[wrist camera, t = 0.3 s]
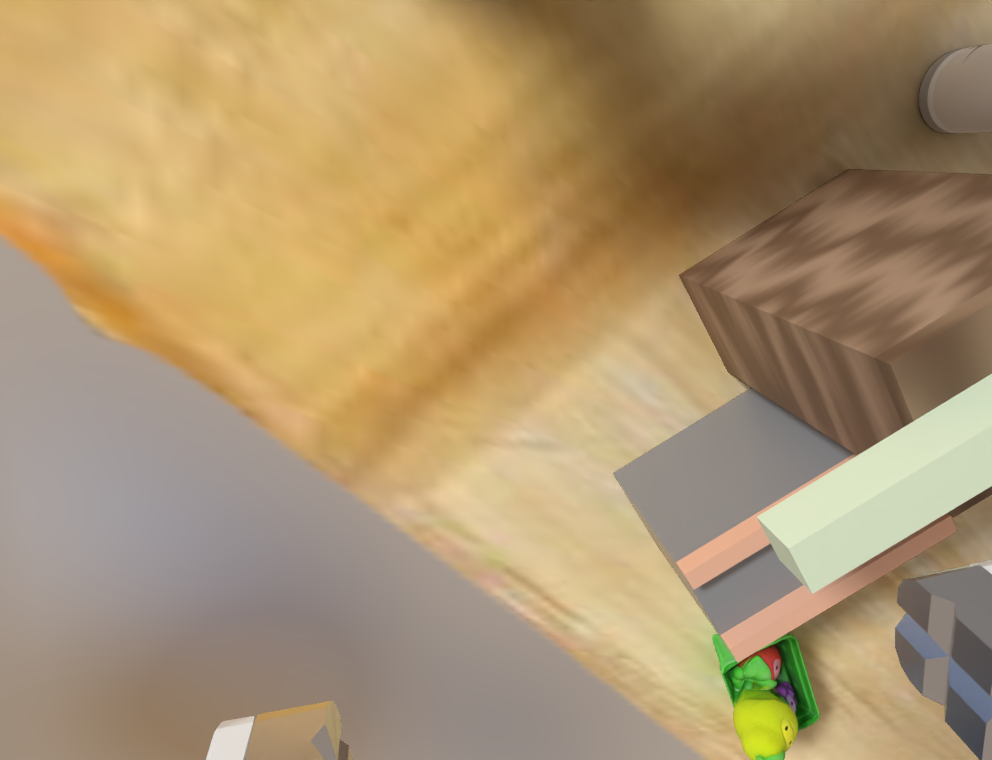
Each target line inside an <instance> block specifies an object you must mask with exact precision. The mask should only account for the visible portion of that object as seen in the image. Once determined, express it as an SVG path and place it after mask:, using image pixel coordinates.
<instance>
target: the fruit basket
mask: <svg viewBox="0 0 992 760" xmlns="http://www.w3.org/2000/svg"><path fill="white" fill-rule="evenodd" d="M713 642H714V646H715V649H716V652H717V655H718V658H719V662H720V670H721V673H722V676H723V679H724V681H725V684H726V687H727V689H728V692H729V695H730V698H731V701H732V703H733V706H734V713H733V721H734V726H735V729H736V732H737V734H738V736H739V738H740V739H741V743H742V746H743V749H744V752H745V753H746V755H747V756H748V757H749V758H750V759H751V760H784V758H785V752H786V751H787V750H788V749H789V748H790V747H791V745H792V744H793V742H794V741H795V739H796V736H797V733H798V731H799V730H801V729H804V728H806V727H808V726H810V725H812V724H813V723H815V722H816V721H817V720H818V719H819V716H820V713H819V710H818V707H817V703H816V700H815V697H814V694H813V691H812V687H811V684H810V681H809V677H808V674H807V671H806V668H805V664H804V661H803V658H802V654H801V651H800V648H799V644H798V640H797V638H796V637H795V636H793V635H791V634H789V633H787V634H785V635H783V636H782V637H780V638H778V639H777V640H775V641H773V642H772V643H770V644H768V645H767V646H765V647H763V648H762V649H760V650H758V651H757V652H755V653H753V654H752V655H750V656H748V657H747V658H745V659H743V660H742V661H740V662H737V661H736V659H735V658H734V656H733V655H732V653H731V652H730V651H729V649H728V648H727V646H726V645H725V643H724V642H723V640H722V639H721V637H720V636H719V635H718V634H716V635H714V636H713Z"/></svg>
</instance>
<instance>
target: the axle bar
mask: <svg viewBox="0 0 992 760" xmlns="http://www.w3.org/2000/svg"><path fill="white" fill-rule="evenodd" d="M991 486H992V374H990V375H989V376H987V377H986V378H984V379H982V380H981V381H979V382H977V383H976V384H974V385H972V386H971V387H969V388H967V389H966V390H964V391H963V392H961V393H959V394H958V395H956V396H954V397H953V398H951V399H949V400H948V401H946V402H944V403H943V404H941V405H940V406H938V407H936V408H935V409H933V410H931V411H930V412H928V413H926V414H925V415H923V416H921V417H920V418H918V419H917V420H915V421H913V422H912V423H910V424H908V425H907V426H905V427H903V428H902V429H900V430H898V431H897V432H895V433H894V434H892V435H890V436H889V437H887V438H885V439H884V440H882V441H880V442H879V443H877V444H875V445H874V446H872V447H871V448H869V449H867V450H866V451H864V452H862V453H861V454H859V455H857V456H856V457H854V458H852V459H851V460H849V461H848V462H846V463H844V464H843V465H841V466H839V467H838V468H836V469H834V470H833V471H831V472H829V473H828V474H826V475H825V476H823V477H821V478H820V479H818V480H816V481H815V482H813V483H811V484H810V485H808V486H806V487H805V488H803V489H802V490H800V491H798V492H797V493H795V494H793V495H792V496H790V497H788V498H787V499H785V500H783V501H782V502H780V503H779V504H777V505H775V506H774V507H772V508H770V509H769V510H767V511H765V512H764V513H762V514H760V515H759V516H757V519H758V521H759V523H760V525H761V527H762V528H763V530H764V532H765V534H766V536H767V538H768V540H769V541H770V543H771V545H772V547H773V549H774V551H775V553H776V554H777V556H778V558H779V560H780V561H781V562H782V563H783V564H784V565H785V566H786V567H787V568H788V569H789V570H790V571H791V572H792V573H793V574H794V575H795V576H796V578H797V579H798V580H799V581H800V582H801V583H802V584H803V585H804V586H805V587H806V588H807V589H808V590H809V591H810V592H811V593H812V594H813V593H815V592H817V591H818V590H820V589H821V588H823V587H825V586H826V585H828V584H830V583H831V582H833V581H835V580H836V579H838V578H840V577H841V576H843V575H845V574H846V573H848V572H850V571H851V570H853V569H855V568H856V567H858V566H860V565H861V564H863V563H865V562H866V561H868V560H870V559H871V558H873V557H875V556H876V555H878V554H880V553H881V552H883V551H885V550H886V549H888V548H890V547H891V546H893V545H895V544H896V543H898V542H900V541H901V540H903V539H905V538H906V537H908V536H910V535H911V534H913V533H915V532H916V531H918V530H920V529H921V528H923V527H924V526H926V525H928V524H929V523H931V522H933V521H934V520H936V519H938V518H939V517H941V516H943V515H944V514H946V513H948V512H949V511H951V510H953V509H954V508H956V507H958V506H959V505H961V504H963V503H964V502H966V501H968V500H969V499H971V498H973V497H974V496H976V495H978V494H979V493H981V492H983V491H984V490H986V489H988V488H989V487H991Z"/></svg>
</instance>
